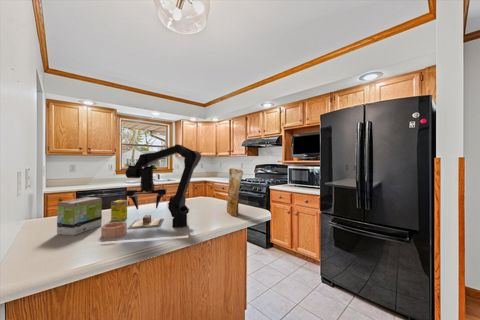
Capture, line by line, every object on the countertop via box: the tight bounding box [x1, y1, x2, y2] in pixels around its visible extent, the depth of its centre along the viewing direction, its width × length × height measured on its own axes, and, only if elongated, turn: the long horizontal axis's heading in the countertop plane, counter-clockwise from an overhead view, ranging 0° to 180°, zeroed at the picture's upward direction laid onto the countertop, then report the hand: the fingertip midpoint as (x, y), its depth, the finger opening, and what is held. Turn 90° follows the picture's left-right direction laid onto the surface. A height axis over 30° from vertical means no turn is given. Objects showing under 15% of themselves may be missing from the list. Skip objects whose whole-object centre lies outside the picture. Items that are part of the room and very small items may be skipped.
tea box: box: [56, 196, 103, 236], centre depth 104 cm, size 15×10×15 cm, turn 168°
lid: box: [131, 214, 162, 229], centre depth 110 cm, size 12×12×4 cm
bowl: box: [100, 221, 128, 239], centre depth 95 cm, size 9×9×5 cm
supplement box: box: [110, 199, 128, 221], centre depth 119 cm, size 6×6×11 cm
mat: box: [127, 218, 165, 230], centre depth 110 cm, size 15×15×1 cm
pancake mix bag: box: [226, 168, 244, 217], centre depth 135 cm, size 7×19×28 cm, turn 20°
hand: (147, 208), depth 110 cm, fingers open, 9 cm apart
